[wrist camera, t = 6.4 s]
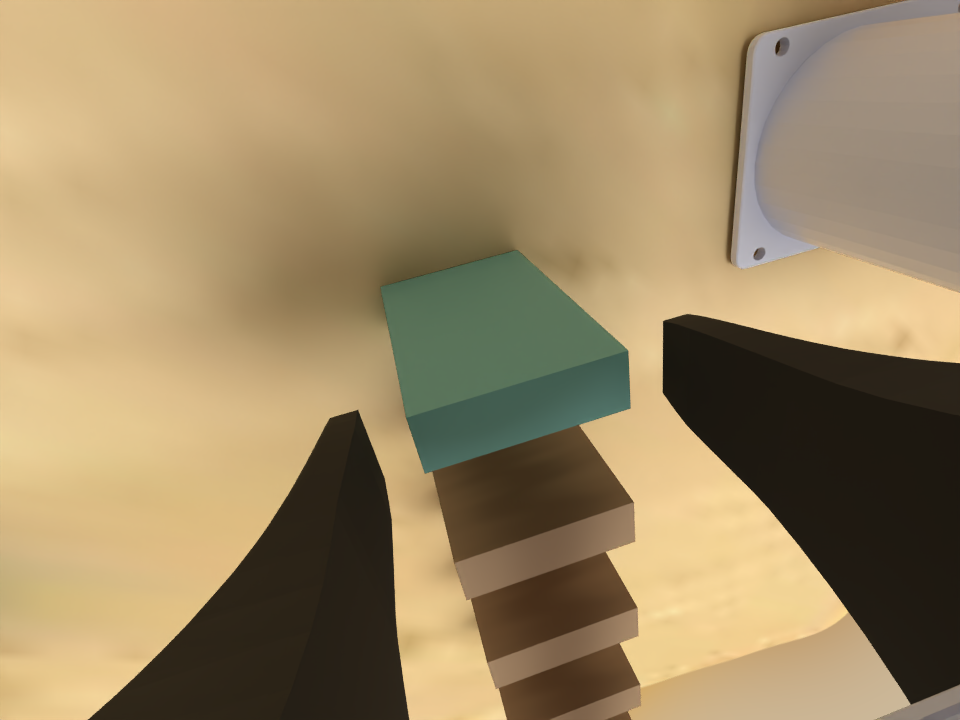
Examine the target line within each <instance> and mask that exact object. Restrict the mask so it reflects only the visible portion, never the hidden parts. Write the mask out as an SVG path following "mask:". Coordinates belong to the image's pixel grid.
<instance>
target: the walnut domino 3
mask: <svg viewBox="0 0 960 720" xmlns="http://www.w3.org/2000/svg"><path fill="white" fill-rule="evenodd" d="M499 691H500V695H501V698H502V702H503V706H504V710H505V713H506V717H507V720H606V719H608V718H611V717H613V716H616V715H619V714H621V713H624V712H626V711H629V710H631V709H634V708H636V707H639V706H641V694H640V683H639V681H638V679H637V677H636V675H635V673H634V671H633V669H632V667H631V665H630V663H629V661H628V659H627V657H626V655H625V653H624V651H623V649H622V647H621V645H620V644H619V643H618V644H615V645H613V646H610V647H607V648H605V649H602V650H599V651H597V652H594V653H591V654H589V655H586V656H583V657H581V658H578V659H575V660H573V661H570V662H567V663H565V664H562V665H559V666H557V667H554V668H551V669H549V670H546V671H543V672H540V673H538V674H535V675H532V676H530V677H527V678H524V679H522V680H519V681H516V682H514V683H511V684H508V685H506V686H503V687H500V688H499Z"/></svg>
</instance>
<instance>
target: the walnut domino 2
mask: <svg viewBox="0 0 960 720" xmlns="http://www.w3.org/2000/svg"><path fill="white" fill-rule="evenodd" d="M471 601H472V605H473V609H474V612H475V616H476V620H477V624H478V628H479V632H480V636H481V640H482V644H483V648H484V652H485V656H486V659H487V663H488V666H489V669H490V672H491V675H492V678H493V681H494V684H495V687H496V689H498V688H500V687H503V686H506V685H508V684H511V683H514V682H516V681H519V680H522V679H524V678H527V677H530V676H532V675H535V674H538V673H540V672H543V671H546V670H549V669H551V668H554V667H557V666H559V665H562V664H565V663H567V662H570V661H573V660H575V659H578V658H581V657H583V656H586V655H589V654H591V653H594V652H597V651H599V650H602V649H605V648H607V647H610V646H613V645H615V644H618V643H621V642H623V641H626V640H629V639H631V638H634V637H637V636H638V608H637V606H636V604H635V603H634V601H633V599H632V597H631V596H630V594H629V592H628V590H627V589H626V587H625V585H624V583H623V582H622V580H621V578H620V576H619V575H618V573H617V571H616V569H615V568H614V566H613V564H612V562H611V561H610V559H609V557H608V555H607V554H606V552H604V553H601V554H598V555H595V556H592V557H589V558H586V559H584V560H581V561H578V562H575V563H572V564H569V565H566V566H564V567H561V568H558V569H555V570H552V571H549V572H546V573H543V574H541V575H538V576H535V577H532V578H529V579H526V580H523V581H521V582H518V583H515V584H512V585H509V586H506V587H503V588H501V589H498V590H495V591H492V592H489V593H486V594H483V595H481V596H478V597H475V598H472V599H471Z"/></svg>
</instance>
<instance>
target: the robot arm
mask: <svg viewBox="0 0 960 720" xmlns="http://www.w3.org/2000/svg"><path fill="white" fill-rule="evenodd" d="M958 6H959V7H958ZM778 41H780V49H779V52H778V53H777V54H776V53H775V47H776V43H777V42H778ZM820 247H821V248H824V249H827V250H830V251H833V252H836V253H839V254H842V255H845V256H848V257H851V258H854V259H857V260H860V261H864V262H867V263H870V264H873V265H876V266H879V267H882V268H885V269H888V270H891V271H894V272H897V273H900V274H903V275H906V276H910V277H913V278H916V279H919V280H922V281H925V282H928V283H931V284H934V285H937V286H940V287H943V288H946V289H949V290H953V291H956V292H959V293H960V0H906V1H901V2H897V3H892V4H888V5H883V6H879V7H875V8H870V9H866V10H861V11H857V12H852V13H848V14H844V15H839V16H835V17H830V18H826V19H821V20H817V21H812V22H808V23H804V24H799V25H795V26H790V27H786V28H781V29H777V30H773V31H768V32H764V33H761V34H759V35H757V36H756V37H755V38H754V39H753V40H752V41H751V43H750V45H749V47H748V52H747V60H746V72H745V85H744V97H743V110H742V123H741V135H740V148H739V160H738V173H737V185H736V198H735V210H734V223H733V236H732V248H731V263H732V264H733V265H734V266H736V267H738V268H741V269H747V268H750V267H754V266H757V265H761V264H764V263H768V262H771V261H775V260H778V259H782V258H785V257H789V256H792V255H796V254H799V253H803V252H806V251H810V250H813V249H817V248H820ZM757 249H758V252H757V254H756V255H755V256H754V257H753V255H754V252H755V251H756V250H757ZM663 394H664V395H665V397H666V398H667V399H668V401H669V402H670V404H671V405H672V406H673V408H674V409H675V411H676V412H677V413H678V414H679V416H680V417H681V418H682V420H683V421H684V422H685V424H686V425H687V426H688V427H689V428H690V429H691V430H692V431H693V432H694V433H695V434H696V435H697V436H698V437H699V438H700V439H701V440H702V441H703V442H704V443H705V444H706V445H707V446H708V447H709V448H710V449H711V450H712V451H713V452H714V453H715V454H716V455H717V456H718V457H719V458H720V459H721V460H722V461H723V462H724V463H725V464H726V465H727V466H728V467H729V468H730V469H731V470H732V471H733V472H734V473H735V474H736V475H737V476H738V477H739V478H740V479H741V480H742V481H743V482H744V483H745V484H746V485H747V486H748V487H749V488H750V489H751V490H752V491H753V492H754V493H755V494H756V495H757V496H758V498H759V499H760V500H761V501H762V502H763V503H764V504H765V505H766V506H767V507H768V508H769V509H770V511H771V512H772V513H773V514H774V516H775V517H776V518H777V519H778V520H779V522H780V523H781V524H782V525H783V527H784V528H785V529H786V530H787V531H788V533H789V534H790V535H791V536H792V538H793V539H794V540H795V541H796V542H797V544H798V545H799V546H800V547H801V549H802V550H803V551H804V553H805V554H806V555H807V557H808V558H809V559H810V561H811V562H812V563H813V564H814V566H815V567H816V568H817V570H818V571H819V572H820V574H821V575H822V576H823V577H824V579H825V580H826V581H827V583H828V584H829V585H830V587H831V588H832V589H833V591H834V592H835V594H836V595H837V596H838V598H839V599H840V601H841V602H842V603H843V605H844V606H845V608H846V609H847V610H848V612H849V613H850V615H851V616H852V617H853V619H854V620H855V622H856V623H857V624H858V626H859V627H860V628H861V630H862V631H863V633H864V634H865V635H866V637H867V638H868V640H869V641H870V643H871V644H872V646H873V647H874V649H875V650H876V652H877V653H878V655H879V656H880V658H881V659H882V661H883V662H884V664H885V665H886V667H887V668H888V670H889V671H890V673H891V674H892V676H893V677H894V679H895V680H896V682H897V683H898V685H899V686H900V688H901V689H902V691H903V693H904V694H905V696H906V697H907V699H908V701H909V702H910V704H911V705H909V706H907V707H905V708H902V709H900V710H897V711H895V712H893V713H890V714H888V715H885V716H883V717H880V718H878V719H876V720H960V363H950V362H938V361H928V360H919V359H910V358H902V357H895V356H888V355H881V354H874V353H867V352H861V351H855V350H849V349H843V348H838V347H833V346H828V345H823V344H818V343H813V342H809V341H804V340H800V339H795V338H791V337H786V336H782V335H778V334H774V333H770V332H766V331H762V330H758V329H754V328H750V327H746V326H742V325H738V324H734V323H729V322H725V321H721V320H717V319H712V318H708V317H703V316H697V315H691V314H686V315H682V316H679V317H675V318H672V319H669V320H665V321H663ZM88 720H409V715H408V709H407V702H406V696H405V689H404V682H403V675H402V667H401V660H400V653H399V646H398V639H397V627H396V614H395V589H394V563H393V540H392V519H391V513H390V506H389V500H388V495H387V489H386V483H385V478H384V476H383V473H382V470H381V468H380V465H379V463H378V460H377V458H376V455H375V452H374V450H373V447H372V445H371V442H370V440H369V437H368V435H367V432H366V429H365V427H364V424H363V422H362V419H361V417H360V414H359V411H358V410H356V411H353V412H349V413H346V414H342V415H339V416H336V417H332V418H330V419H329V421H328V422H327V424H326V426H325V428H324V430H323V432H322V434H321V436H320V438H319V439H318V441H317V443H316V445H315V447H314V449H313V451H312V453H311V455H310V457H309V459H308V461H307V462H306V464H305V466H304V468H303V470H302V471H301V473H300V475H299V477H298V478H297V480H296V482H295V484H294V486H293V487H292V489H291V491H290V492H289V494H288V496H287V497H286V499H285V501H284V502H283V504H282V505H281V507H280V508H279V510H278V512H277V513H276V515H275V516H274V518H273V519H272V521H271V523H270V524H269V526H268V527H267V529H266V530H265V531H264V533H263V534H262V536H261V537H260V538H259V540H258V541H257V542H256V544H255V545H254V546H253V548H252V549H251V550H250V552H249V553H248V554H247V556H246V557H245V558H244V559H243V561H242V562H241V563H240V565H239V566H238V567H237V568H236V570H235V571H234V572H233V573H232V575H231V576H230V577H229V578H228V579H227V580H226V582H225V583H224V584H223V585H222V586H221V587H220V588H219V589H218V591H217V592H216V593H215V594H214V595H213V596H212V597H211V599H210V600H209V601H208V602H207V603H206V604H205V605H204V607H203V608H202V609H201V610H200V611H199V612H198V613H197V614H196V616H195V617H194V618H193V619H192V620H191V621H190V622H189V623H188V624H187V625H186V627H185V628H184V629H183V630H182V631H181V632H180V633H179V634H178V635H177V636H176V637H175V638H174V639H173V640H172V641H171V642H170V643H169V644H168V645H167V646H166V647H165V648H164V649H163V650H162V651H161V652H160V653H159V654H158V655H157V656H156V657H155V658H154V659H153V660H152V661H151V662H150V663H149V664H148V665H147V666H146V667H145V668H144V669H143V670H142V671H141V672H140V673H139V674H138V675H137V676H136V677H135V678H134V679H133V680H131V681H130V682H129V683H128V684H127V685H126V686H125V687H124V688H123V689H122V690H121V691H120V692H119V693H118V694H117V695H115V696H114V697H113V698H112V699H111V700H110V701H109V702H108V703H106V704H105V705H104V706H103V707H102V708H101V709H100V710H99V711H97V712H96V713H95V714H94V715H93V716H92V717H91V718H90V719H88Z"/></svg>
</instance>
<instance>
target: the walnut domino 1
mask: <svg viewBox="0 0 960 720" xmlns="http://www.w3.org/2000/svg"><path fill="white" fill-rule="evenodd" d="M432 472H433V476H434V480H435V484H436V488H437V492H438V497H439V501H440V505H441V509H442V513H443V518H444V522H445V526H446V530H447V534H448V538H449V543H450V547H451V551H452V555H453V559H454V563H455V566H456V569H457V572H458V575H459V578H460V582H461V585H462V588H463V591H464V594H465V597H466V600H469V599H472V598H475V597H478V596H481V595H483V594H486V593H489V592H492V591H495V590H498V589H501V588H503V587H506V586H509V585H512V584H515V583H518V582H521V581H523V580H526V579H529V578H532V577H535V576H538V575H541V574H543V573H546V572H549V571H552V570H555V569H558V568H561V567H564V566H566V565H569V564H572V563H575V562H578V561H581V560H584V559H586V558H589V557H592V556H595V555H598V554H601V553H604V552H606V551H609V550H612V549H615V548H618V547H621V546H624V545H626V544H629V543H632V542H635V522H634V502H633V500H632V499H631V498H630V496H629V495H628V493H627V492H626V491H625V489H624V488H623V486H622V485H621V484H620V482H619V481H618V479H617V478H616V477H615V475H614V474H613V472H612V471H611V470H610V468H609V467H608V465H607V464H606V463H605V461H604V460H603V458H602V457H601V456H600V454H599V453H598V451H597V450H596V449H595V447H594V446H593V444H592V443H591V442H590V440H589V439H588V437H587V436H586V434H585V433H584V432H583V430H582V429H581V427H580V426H579V425H577V426H573V427H570V428H567V429H564V430H561V431H558V432H555V433H551V434H548V435H545V436H542V437H539V438H536V439H532V440H529V441H526V442H523V443H520V444H517V445H514V446H510V447H507V448H504V449H501V450H498V451H495V452H491V453H488V454H485V455H482V456H479V457H476V458H473V459H469V460H466V461H463V462H460V463H457V464H454V465H451V466H447V467H444V468H441V469H438V470H435V471H432Z"/></svg>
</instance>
